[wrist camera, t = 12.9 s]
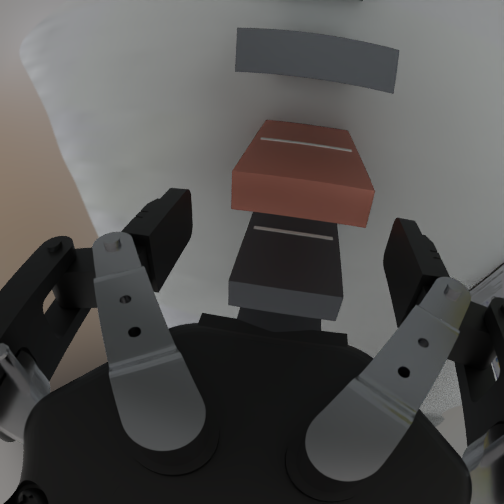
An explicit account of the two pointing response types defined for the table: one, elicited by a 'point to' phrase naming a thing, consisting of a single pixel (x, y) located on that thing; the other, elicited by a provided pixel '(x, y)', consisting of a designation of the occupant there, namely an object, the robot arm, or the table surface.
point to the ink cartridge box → (490, 297)
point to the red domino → (303, 175)
